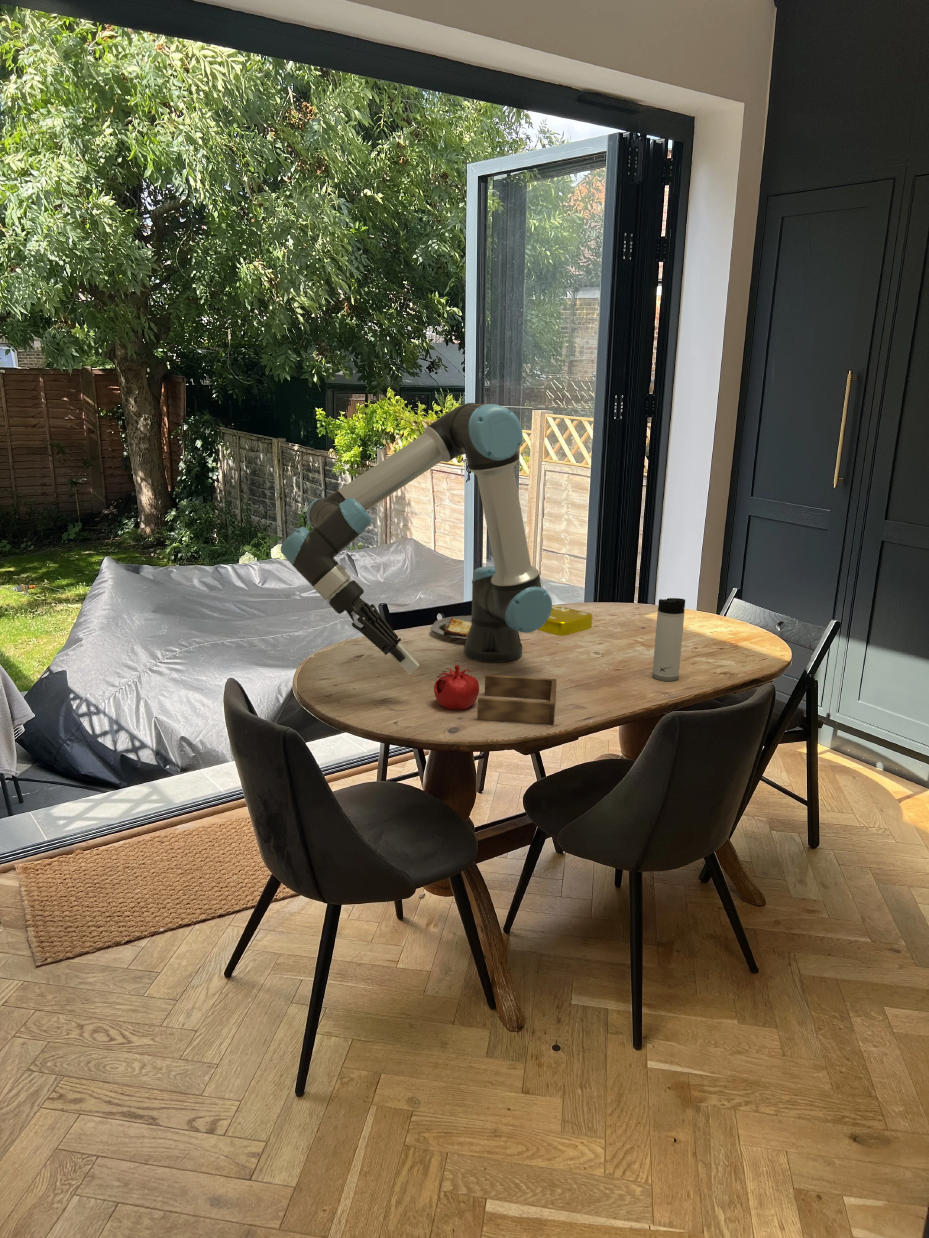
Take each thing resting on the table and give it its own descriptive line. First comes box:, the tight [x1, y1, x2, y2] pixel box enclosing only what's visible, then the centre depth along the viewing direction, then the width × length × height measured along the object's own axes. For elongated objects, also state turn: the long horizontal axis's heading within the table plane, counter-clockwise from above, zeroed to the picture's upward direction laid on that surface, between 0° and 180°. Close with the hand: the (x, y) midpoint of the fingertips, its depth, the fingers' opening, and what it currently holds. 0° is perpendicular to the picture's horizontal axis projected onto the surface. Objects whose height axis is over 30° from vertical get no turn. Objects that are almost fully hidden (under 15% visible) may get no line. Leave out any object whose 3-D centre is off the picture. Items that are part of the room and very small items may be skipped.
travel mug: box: [651, 597, 686, 682], centre depth 212 cm, size 6×7×20 cm
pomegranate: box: [433, 664, 480, 711], centre depth 193 cm, size 10×10×9 cm
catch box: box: [476, 674, 557, 725], centre depth 192 cm, size 16×16×4 cm
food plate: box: [430, 615, 472, 640], centre depth 248 cm, size 25×23×4 cm
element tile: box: [537, 604, 593, 637], centre depth 257 cm, size 15×15×5 cm
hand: (414, 669), depth 193 cm, fingers closed
